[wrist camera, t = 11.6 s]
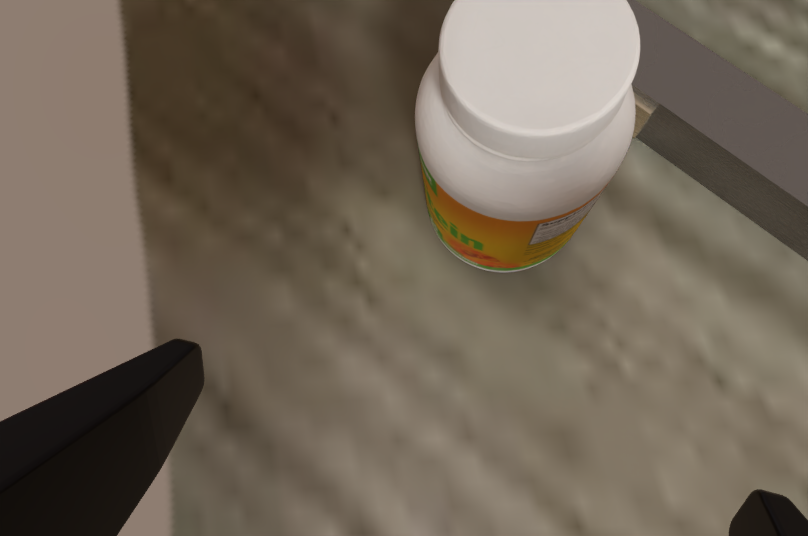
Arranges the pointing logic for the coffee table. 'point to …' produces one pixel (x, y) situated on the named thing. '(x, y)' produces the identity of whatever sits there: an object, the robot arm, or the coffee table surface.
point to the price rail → (722, 128)
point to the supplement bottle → (524, 123)
